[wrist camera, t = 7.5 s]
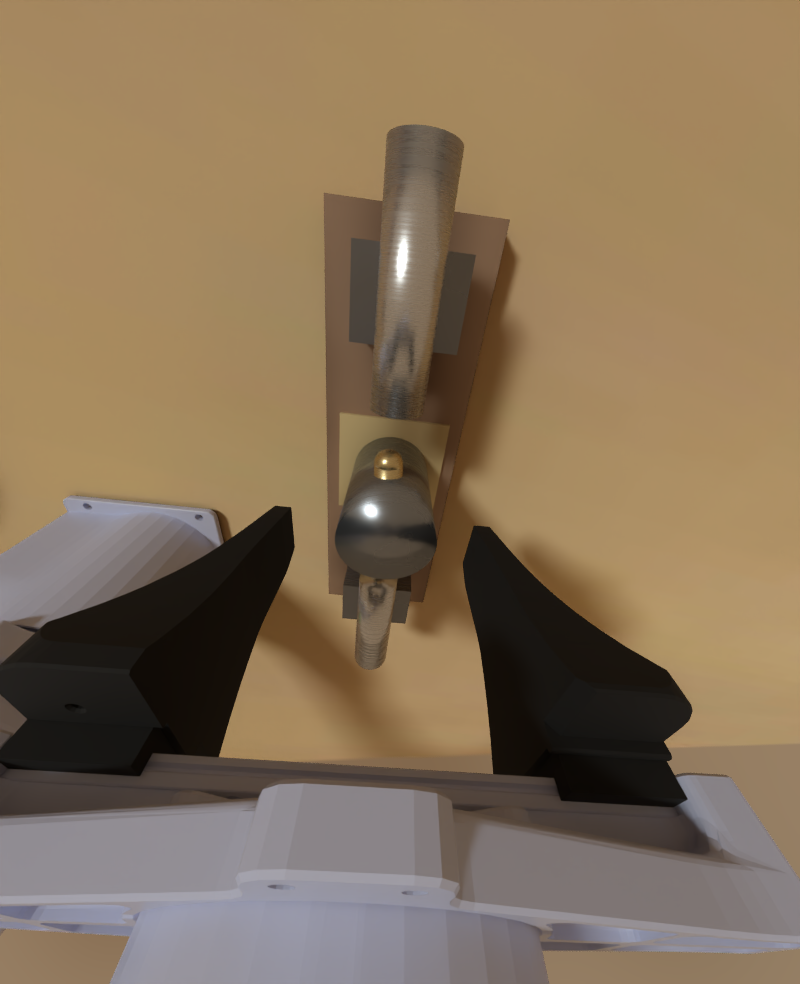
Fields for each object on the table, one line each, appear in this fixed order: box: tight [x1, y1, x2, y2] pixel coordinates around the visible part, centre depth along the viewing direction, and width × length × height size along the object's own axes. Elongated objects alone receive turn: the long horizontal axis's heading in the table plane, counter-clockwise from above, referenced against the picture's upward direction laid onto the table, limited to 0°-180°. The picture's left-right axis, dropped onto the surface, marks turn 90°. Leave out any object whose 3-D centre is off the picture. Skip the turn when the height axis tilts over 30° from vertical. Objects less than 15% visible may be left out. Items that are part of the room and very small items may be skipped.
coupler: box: [335, 437, 437, 579], centre depth 15 cm, size 4×6×6 cm, turn 178°
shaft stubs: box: [342, 125, 476, 670], centre depth 15 cm, size 4×23×5 cm, turn 174°
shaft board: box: [324, 193, 510, 602], centre depth 18 cm, size 7×22×1 cm, turn 174°
